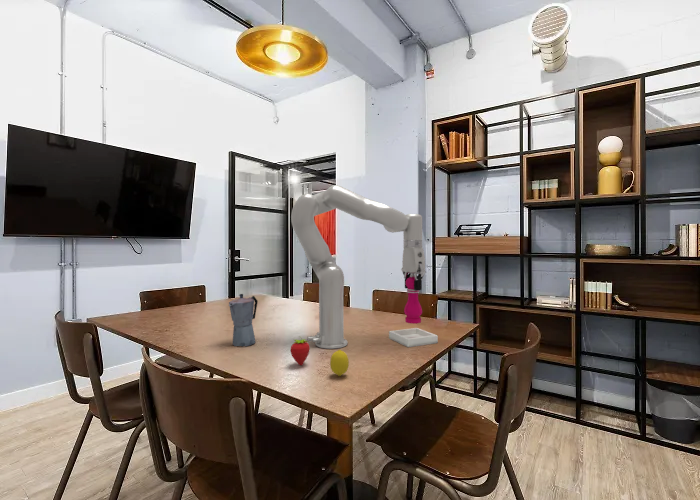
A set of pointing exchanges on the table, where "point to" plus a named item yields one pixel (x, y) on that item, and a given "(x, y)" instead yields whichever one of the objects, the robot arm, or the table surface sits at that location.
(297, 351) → the strawberry
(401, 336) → the tray
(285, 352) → the table surface
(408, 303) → the pepper mill
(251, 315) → the moka pot
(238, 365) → the table surface
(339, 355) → the lemon
